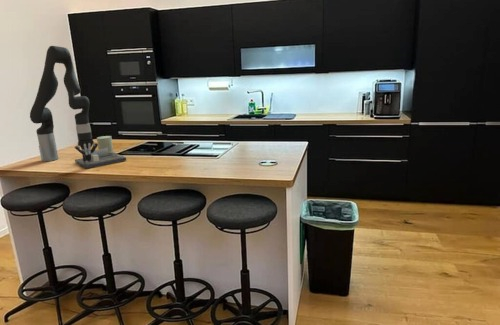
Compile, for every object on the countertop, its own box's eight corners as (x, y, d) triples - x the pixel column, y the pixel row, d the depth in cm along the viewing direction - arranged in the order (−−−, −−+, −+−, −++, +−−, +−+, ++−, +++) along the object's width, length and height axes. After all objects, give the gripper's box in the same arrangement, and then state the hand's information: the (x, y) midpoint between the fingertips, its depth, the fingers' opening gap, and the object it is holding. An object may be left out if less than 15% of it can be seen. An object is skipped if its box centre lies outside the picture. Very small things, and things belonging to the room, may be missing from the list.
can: (107, 151, 244) (105, 134, 241) (116, 153, 239) (114, 135, 236) (96, 155, 236) (93, 137, 233) (105, 156, 232) (102, 138, 228)
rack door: (87, 159, 216) (86, 152, 215) (86, 158, 218) (85, 151, 217) (108, 155, 225) (107, 148, 223) (107, 154, 226) (106, 147, 225)
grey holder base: (86, 169, 203) (83, 152, 201) (75, 162, 218) (72, 147, 215) (126, 160, 218) (124, 144, 216) (114, 155, 233) (111, 140, 230)
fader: (94, 162, 208) (92, 155, 207) (91, 161, 211) (90, 154, 210) (99, 161, 210) (98, 154, 209) (97, 160, 213) (96, 153, 212)
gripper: (93, 129, 210) (98, 157, 215) (69, 132, 202) (74, 161, 207) (97, 130, 205) (102, 159, 209) (73, 134, 196) (78, 164, 201)
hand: (88, 160), depth 208 cm, fingers closed
